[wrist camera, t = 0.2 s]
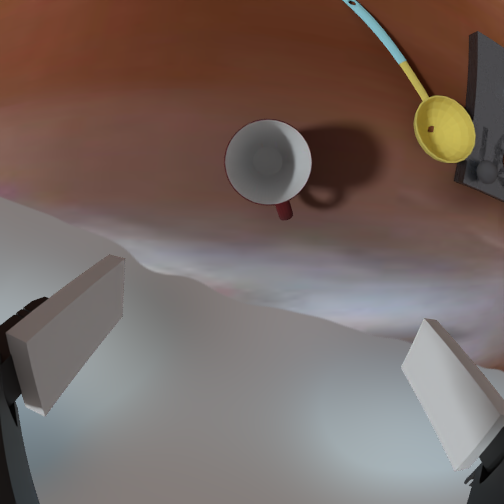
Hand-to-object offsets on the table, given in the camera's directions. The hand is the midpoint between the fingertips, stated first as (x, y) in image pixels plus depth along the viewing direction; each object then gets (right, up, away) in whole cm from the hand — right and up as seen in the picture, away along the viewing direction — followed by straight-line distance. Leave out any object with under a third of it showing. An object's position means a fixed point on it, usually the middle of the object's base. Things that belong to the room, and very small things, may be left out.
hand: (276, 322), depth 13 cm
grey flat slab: (+38, +22, +21) cm, 49 cm away
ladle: (+18, +26, +21) cm, 38 cm away
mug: (+1, +13, +25) cm, 29 cm away
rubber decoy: (+30, +13, +20) cm, 38 cm away
